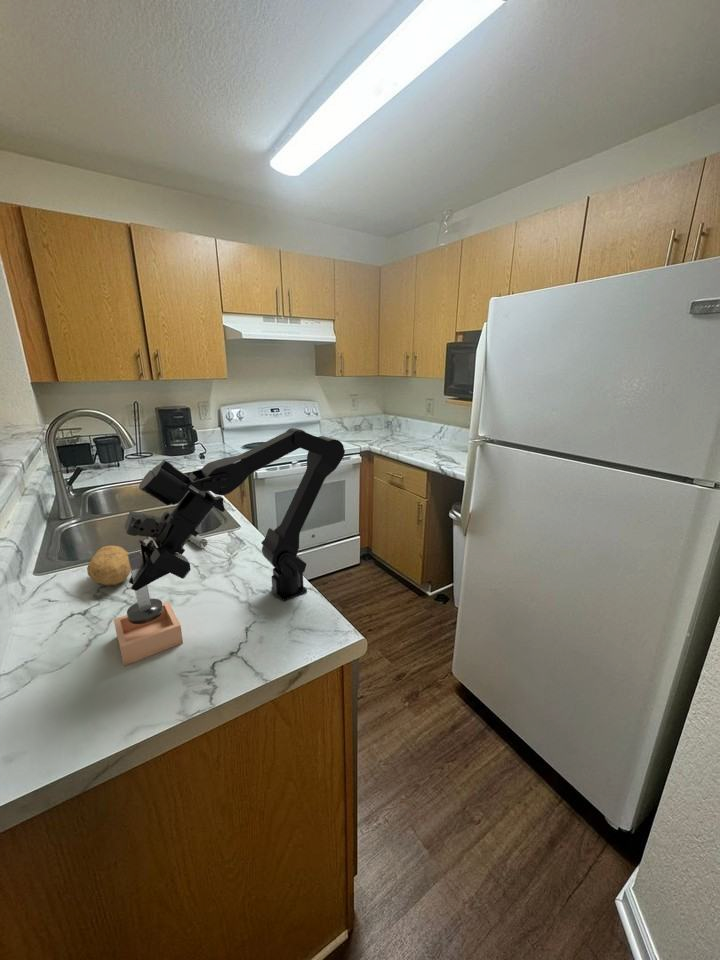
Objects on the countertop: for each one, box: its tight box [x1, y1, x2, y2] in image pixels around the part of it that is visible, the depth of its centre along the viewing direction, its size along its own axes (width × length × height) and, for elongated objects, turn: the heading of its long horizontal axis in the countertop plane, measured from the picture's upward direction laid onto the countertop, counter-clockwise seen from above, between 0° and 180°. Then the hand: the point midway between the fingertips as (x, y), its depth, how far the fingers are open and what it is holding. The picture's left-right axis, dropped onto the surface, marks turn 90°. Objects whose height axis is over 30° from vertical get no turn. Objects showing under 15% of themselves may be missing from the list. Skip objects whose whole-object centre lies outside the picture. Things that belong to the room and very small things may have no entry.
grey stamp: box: [126, 550, 163, 624], centre depth 73 cm, size 6×6×12 cm
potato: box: [86, 545, 131, 586], centre depth 96 cm, size 10×14×8 cm
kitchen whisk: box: [188, 534, 237, 568], centre depth 114 cm, size 6×34×6 cm, turn 45°
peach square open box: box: [113, 601, 184, 667], centre depth 75 cm, size 10×10×4 cm
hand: (132, 586), depth 72 cm, fingers closed on grey stamp, 2 cm apart
